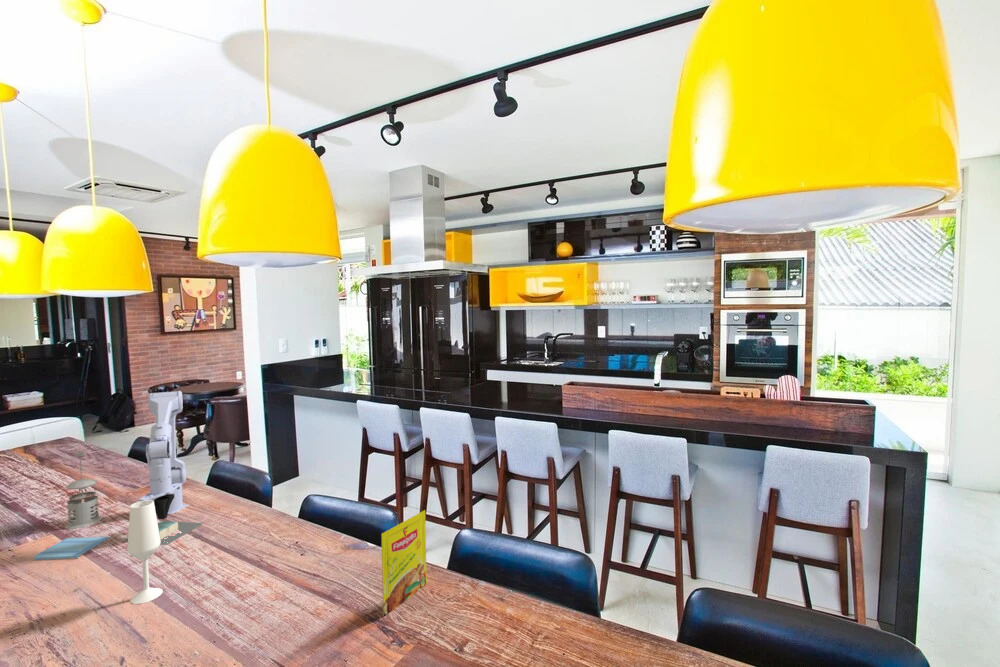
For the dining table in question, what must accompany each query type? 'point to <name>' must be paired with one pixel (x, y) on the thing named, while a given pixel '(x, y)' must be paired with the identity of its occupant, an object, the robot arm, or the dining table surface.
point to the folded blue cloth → (70, 548)
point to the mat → (182, 527)
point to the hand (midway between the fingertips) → (162, 518)
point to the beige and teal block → (167, 528)
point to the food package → (403, 561)
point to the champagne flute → (143, 544)
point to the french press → (82, 504)
